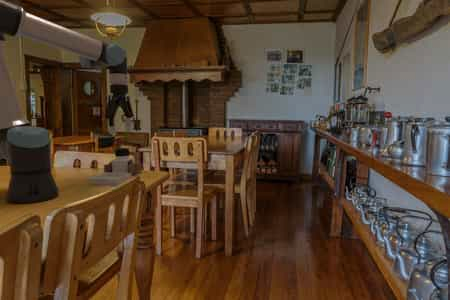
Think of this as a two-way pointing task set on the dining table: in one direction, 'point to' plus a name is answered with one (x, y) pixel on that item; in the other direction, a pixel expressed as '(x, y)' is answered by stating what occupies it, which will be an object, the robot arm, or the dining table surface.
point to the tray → (109, 178)
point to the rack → (132, 169)
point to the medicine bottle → (121, 161)
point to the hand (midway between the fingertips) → (120, 133)
